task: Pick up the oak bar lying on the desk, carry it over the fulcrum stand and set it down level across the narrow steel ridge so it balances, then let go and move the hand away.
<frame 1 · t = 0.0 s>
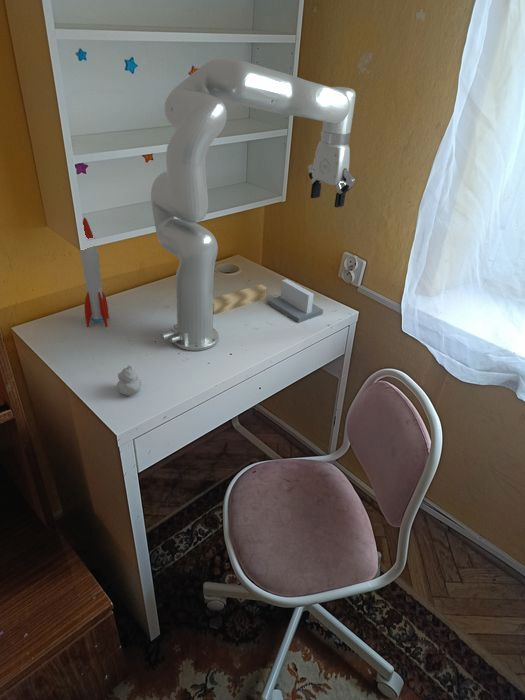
hand: (326, 202, 144), 31 cm above the table, tool pointing down, fingers open, 9 cm apart
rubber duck: (129, 391, 116), on the table
rod: (238, 305, 155), on the table
fulcrum: (295, 309, 154), on the table
toy rocket: (98, 323, 140), on the table
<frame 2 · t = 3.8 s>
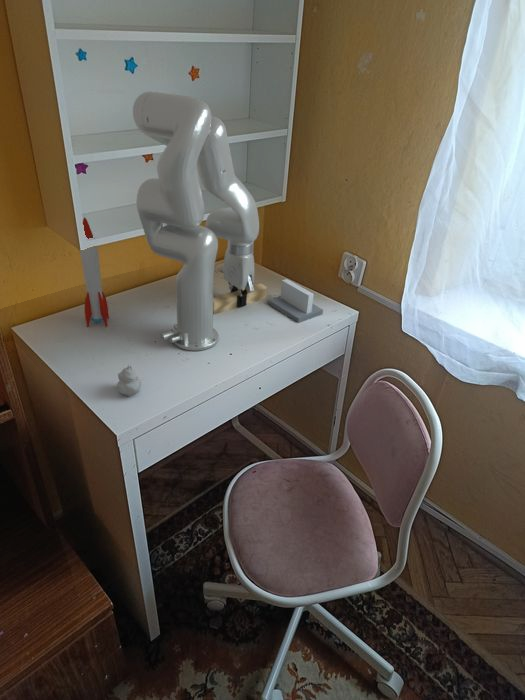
hand: (238, 303, 155), 0 cm above the table, tool pointing down, fingers closed on rod, 2 cm apart
rod: (238, 304, 155), on the table, touching gripper
everything else where it was.
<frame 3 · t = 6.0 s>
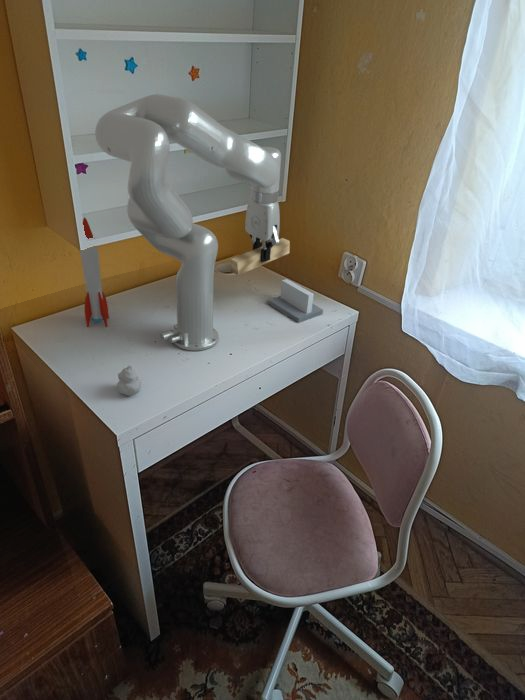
hand: (261, 258, 146), 16 cm above the table, tool pointing down, fingers closed on rod, 3 cm apart
rod: (261, 262, 147), point 14 cm above the table, tilted 7°, touching gripper
everything else where it was.
when the fingers open (9 cm above the table, at t = 8.5 s): rod stays where it is, resting on fulcrum.
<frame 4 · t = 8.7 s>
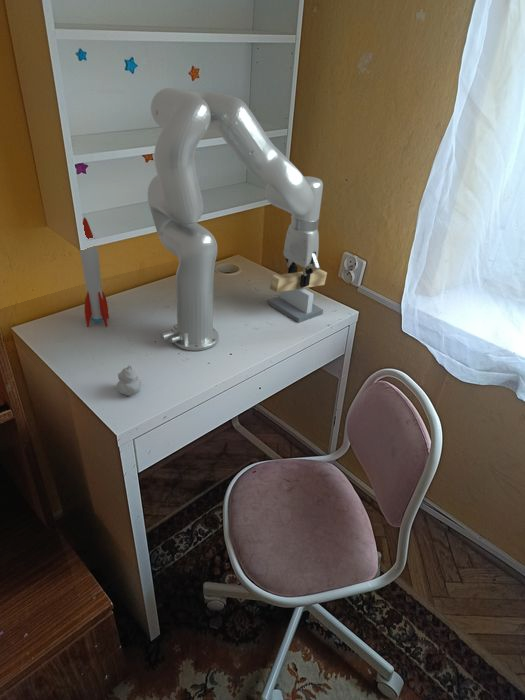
hand: (298, 282, 149), 9 cm above the table, tool pointing down, fingers open, 4 cm apart
rod: (298, 286, 150), point 8 cm above the table, tilted 7°, touching fulcrum
everything else where it was.
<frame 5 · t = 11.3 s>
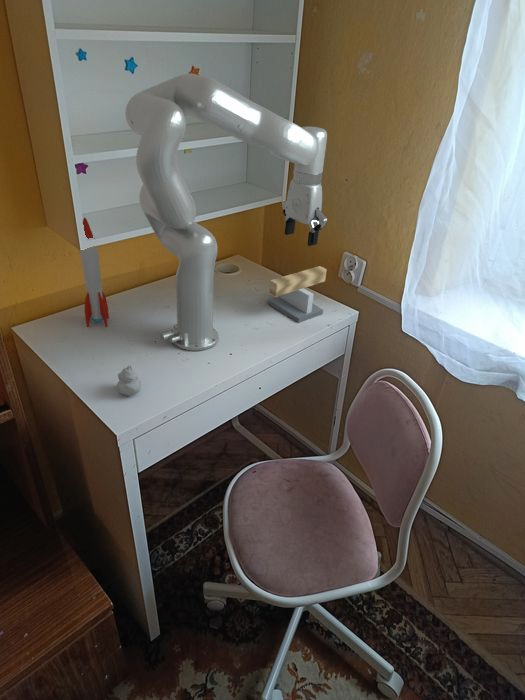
hand: (300, 239, 142), 22 cm above the table, tool pointing down, fingers open, 9 cm apart
rod: (298, 286, 150), point 8 cm above the table, touching fulcrum
everything else where it was.
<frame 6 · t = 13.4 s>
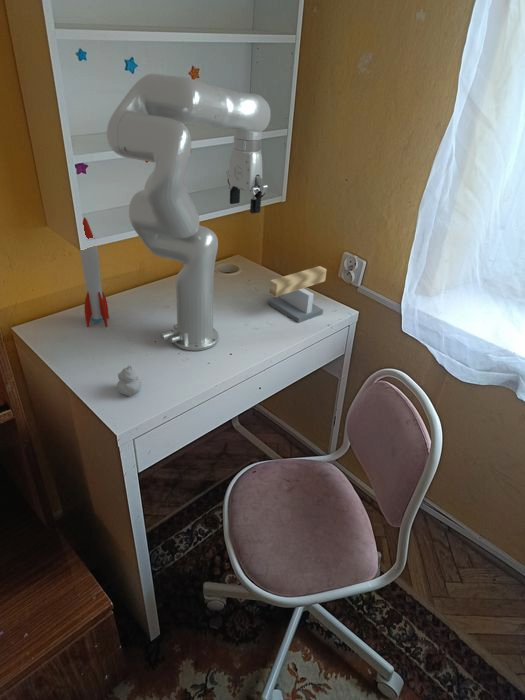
hand: (244, 208, 144), 28 cm above the table, tool pointing down, fingers open, 9 cm apart
nothing on the table moved.
at the end: rod 0.2 cm off-centre on the fulcrum, point 7.5 cm above the fulcrum's base; rod tilted 0°; rod touching fulcrum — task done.
